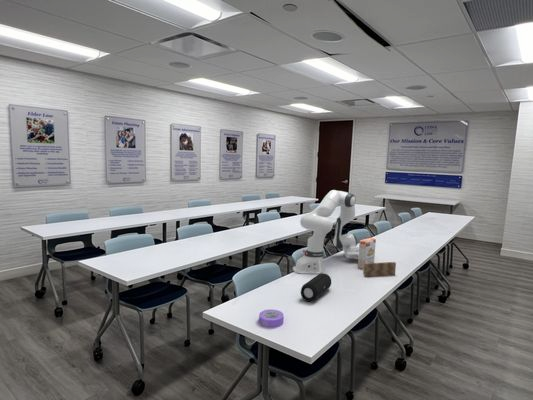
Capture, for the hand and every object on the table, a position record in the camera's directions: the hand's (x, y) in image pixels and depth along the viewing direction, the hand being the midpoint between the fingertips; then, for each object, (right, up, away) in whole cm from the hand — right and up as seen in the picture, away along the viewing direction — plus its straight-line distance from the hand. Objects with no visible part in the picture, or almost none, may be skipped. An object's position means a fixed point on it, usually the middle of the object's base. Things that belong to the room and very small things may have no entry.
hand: (363, 257), depth 254 cm
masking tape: (-70, -16, -91) cm, 116 cm away
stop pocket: (+4, -8, -20) cm, 22 cm away
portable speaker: (-44, -12, -57) cm, 73 cm away
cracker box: (+1, -7, -4) cm, 8 cm away
